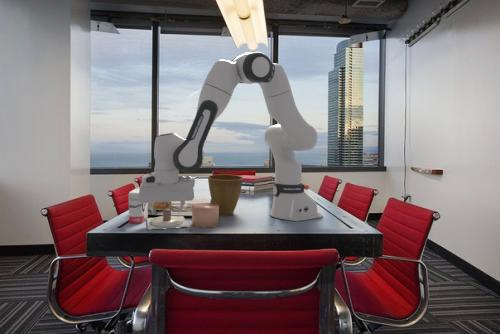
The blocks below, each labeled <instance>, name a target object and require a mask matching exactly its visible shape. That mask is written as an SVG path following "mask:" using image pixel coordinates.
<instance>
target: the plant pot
mask: <svg viewBox="0 0 500 334" xmlns="http://www.w3.org/2000/svg"><path fill="white" fill-rule="evenodd" d="M243 180H244V178H243V176H241V175H236V174H225V173H224V174H211V175H209V176H207V182H208V189H209V193H210V199H211V202H212V203H213V204H217V205H219V216H225V217H228V216H231V215H233V214H234V212H235V210H236V208H237V205H238V202H239V198H240V194H241V191H242V185H243Z"/></svg>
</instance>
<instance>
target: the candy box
mask: <svg viewBox="0 0 500 334" xmlns="http://www.w3.org/2000/svg"><path fill="white" fill-rule="evenodd" d="M152 207H153V209H154V208H156V210H159V211H163V210H162V209H169V208H171V209H172V202H153V205H152ZM148 211H150V212H152V210H151V208H150V207H149V206H148Z"/></svg>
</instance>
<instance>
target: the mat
mask: <svg viewBox="0 0 500 334" xmlns="http://www.w3.org/2000/svg"><path fill="white" fill-rule="evenodd" d="M178 217H181V218H183V223H182V224H180V225H177V226H171V227H158V226H153V225H151V223H150V220H151V219H153V218H154V217H148V218H147V219H146V225H147V231H148V230H149V229H163V228H176V227H188V228H189V225H188V222H187V221H186V219H185V216H183V215H178Z"/></svg>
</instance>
